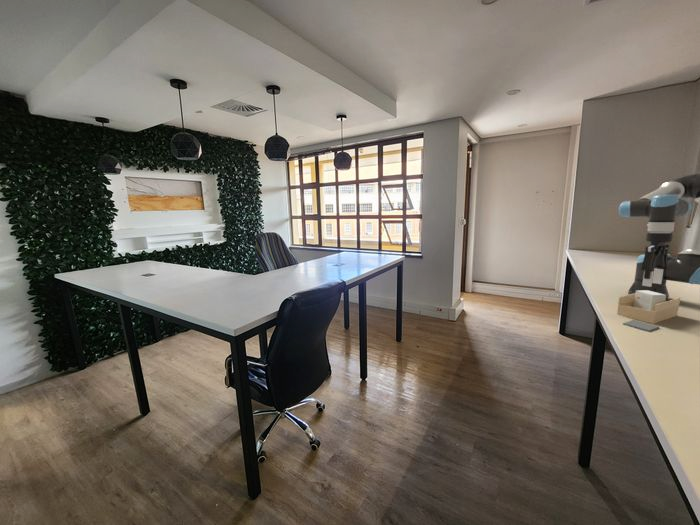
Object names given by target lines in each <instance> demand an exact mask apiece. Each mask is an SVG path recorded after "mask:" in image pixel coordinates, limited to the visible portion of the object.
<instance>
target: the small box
mask: <svg viewBox="0 0 700 525" xmlns="http://www.w3.org/2000/svg"><path fill="white" fill-rule="evenodd" d="M665 300H666V295H664V294H660V293H657V292H653V291H649V290H637V291H636V293H635V300H634V307H635V308H639V309H644V310H649V311H653V312H655V306H656V304H659V303H663V302H666V301H665Z"/></svg>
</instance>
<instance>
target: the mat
mask: <svg viewBox="0 0 700 525" xmlns="http://www.w3.org/2000/svg"><path fill="white" fill-rule="evenodd" d="M622 325H624V326H626V325H627V326H626V327H630V328H633V327H634V329H638V330H641V331H644V332H648V333H649V332H652V331H655V330H657V329H659V328H660V326H659V325H656V324H651V323H647V322H643V321H640V320H636V319H632V320H629V321H626V322H623V323H622Z"/></svg>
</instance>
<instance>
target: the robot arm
mask: <svg viewBox="0 0 700 525" xmlns="http://www.w3.org/2000/svg"><path fill="white" fill-rule="evenodd" d="M686 199H694V201H695V202H696V203H697V207H696V209H695V214H694V216H693V218H692V223H691V226H690V229H689V232H688V235H687V238H686V242H685V245H684V248H683V250H682V251H681V252H678V253H677V255H676V257H672V255H671V254H670V253H669V249H670V244H666V243H671V242H672V241H673V232H674V230H675V223H676V221H675V220H676V218H680V217H684V216H686V215H688V214H690V213H691V211H692V209H693V206H692V203H691V202H690V201H689V200H686ZM618 214H619V216H620V217H623V218H649V219H648V223H647V224H646V227H647V233H646V237H645V241H646V242H650V245H649V246H645V251H644V252H645V253H644V254H640V255H638V257H637V261H636V266H635V274H634V282H632V285H631V286H630V287H629V289H628V292H627V295H630V294H634V293H636V291H637V290H649V291H653V292H657V293H660V294H664V295H666V300H665V302H666V301H669V300H670V293H669V291H668V288H667V287H668V286H667V281H671V282H678V283H682V284H683V283H685V284H691V285H700V173H691V174H688V175H682V176H680V177H677V178H673V179H672V180H671V179H670V180H668V181H667V182H664V183H662V184H661V185H660V186H659V187H658V188H657V189H655V190H653V191H651V192H649V193H647V194H645V195H643V196H641V197H640V198H638V199H635V200H625V201H622V202H621V203H620V205H619V207H618Z"/></svg>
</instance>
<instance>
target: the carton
mask: <svg viewBox="0 0 700 525" xmlns="http://www.w3.org/2000/svg"><path fill="white" fill-rule="evenodd" d="M634 300H635V293H634V294H630V295H628V294H627V295H626V294H625V295H623V296H619V297H618V302H617V303H618V305H617V312H616V314H617V315H618V316H621V315H622V316H623V317H625V316H626V318H629V317H630V318H629V319H632V318H633V319H632V320H636V319H637V320H636V321H639V322H643V321H644V322H643V323H647V324H651V325H655V324H657V323H660V322H664V321H666V320H669V319H672V318H675V317H678V312H679V307H680V306H679V305H680V303H681V297H679V296H678V297H676V298H674V299H669V300H667V301H665V302H663V303H659V304H656V306H655V312H653V311H649V310H644V309H639V308H635V307H634ZM622 316H621V317H622Z"/></svg>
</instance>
